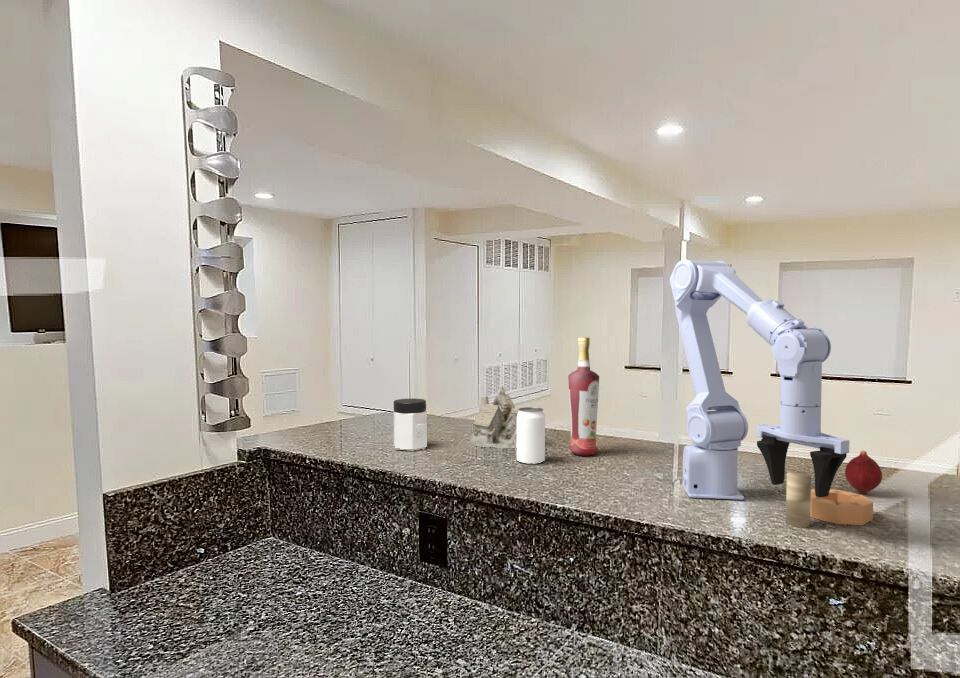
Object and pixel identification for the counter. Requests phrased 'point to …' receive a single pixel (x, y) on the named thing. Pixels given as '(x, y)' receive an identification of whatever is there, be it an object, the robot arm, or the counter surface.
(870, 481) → the onion
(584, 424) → the liquor
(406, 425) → the jar
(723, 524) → the counter surface
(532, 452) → the can
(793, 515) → the dowel
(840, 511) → the orange faceted ring
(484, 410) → the ceramic cottage
